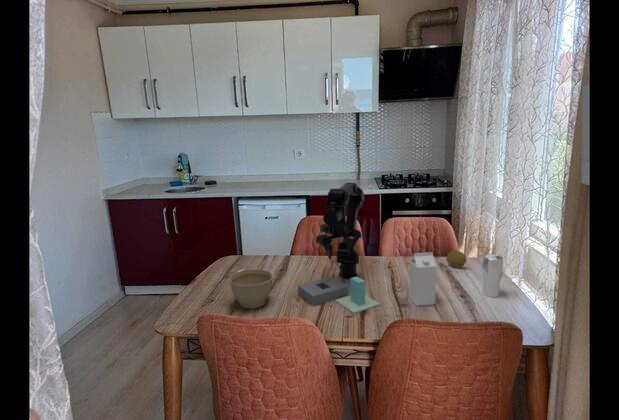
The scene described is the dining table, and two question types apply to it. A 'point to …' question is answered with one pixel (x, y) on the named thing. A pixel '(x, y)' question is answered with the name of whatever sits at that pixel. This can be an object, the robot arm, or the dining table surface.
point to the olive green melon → (456, 258)
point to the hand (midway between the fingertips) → (339, 257)
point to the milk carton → (423, 279)
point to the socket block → (323, 291)
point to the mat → (354, 307)
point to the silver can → (492, 274)
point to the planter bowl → (251, 287)
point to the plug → (357, 290)
